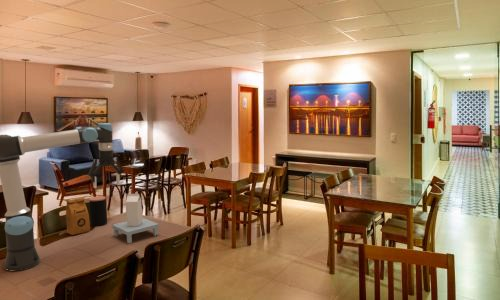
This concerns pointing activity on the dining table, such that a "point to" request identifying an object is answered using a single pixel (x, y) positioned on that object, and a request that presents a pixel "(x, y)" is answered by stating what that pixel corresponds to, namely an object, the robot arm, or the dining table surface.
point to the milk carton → (133, 210)
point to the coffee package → (77, 216)
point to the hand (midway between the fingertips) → (106, 186)
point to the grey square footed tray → (135, 228)
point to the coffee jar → (98, 211)
